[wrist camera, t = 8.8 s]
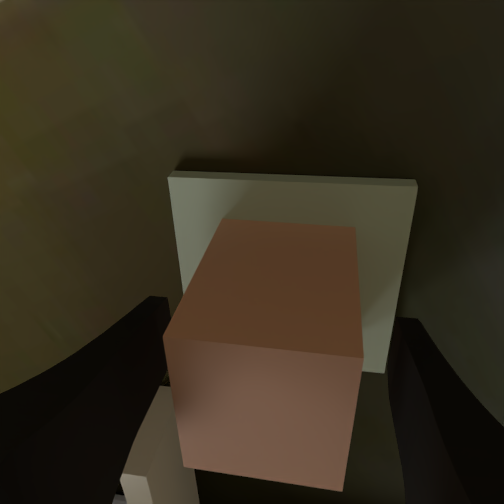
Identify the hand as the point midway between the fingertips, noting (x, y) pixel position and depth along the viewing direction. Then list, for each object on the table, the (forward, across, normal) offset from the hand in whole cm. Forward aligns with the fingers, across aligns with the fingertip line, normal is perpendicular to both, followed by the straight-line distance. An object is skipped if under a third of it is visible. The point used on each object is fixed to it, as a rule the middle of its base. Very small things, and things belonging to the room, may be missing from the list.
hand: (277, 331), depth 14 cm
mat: (+3, 0, 0) cm, 3 cm away
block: (+3, 0, 0) cm, 3 cm away
